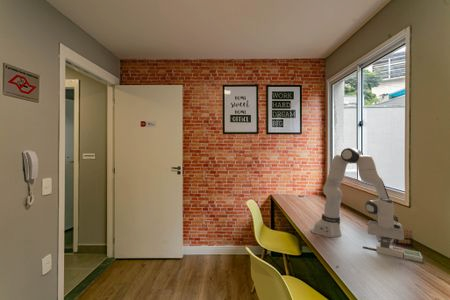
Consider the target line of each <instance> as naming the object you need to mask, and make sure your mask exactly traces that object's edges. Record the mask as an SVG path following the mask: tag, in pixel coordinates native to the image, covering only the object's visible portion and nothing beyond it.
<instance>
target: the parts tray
mask: <svg viewBox="0 0 450 300" xmlns="http://www.w3.org/2000/svg"><path fill="white" fill-rule="evenodd" d="M402 250H403V259H406V260H410V261H413V262H414V261H415V262H419V263H423V259H424V258H423V255H422V253H421V251H416V250H412V249H406V248H402Z"/></svg>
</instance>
